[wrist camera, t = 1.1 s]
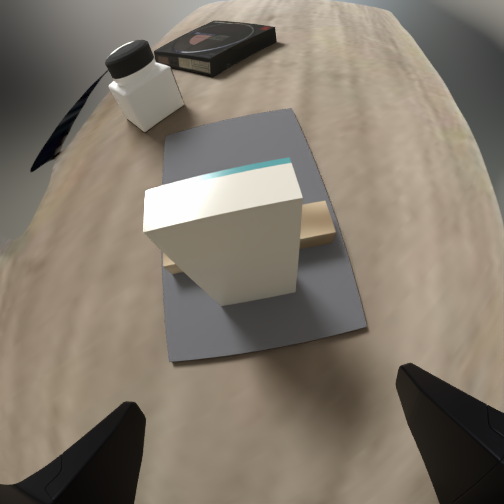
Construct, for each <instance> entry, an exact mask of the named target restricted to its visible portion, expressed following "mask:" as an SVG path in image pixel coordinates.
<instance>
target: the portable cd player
mask: <svg viewBox="0 0 504 504" xmlns="http://www.w3.org/2000/svg"><path fill="white" fill-rule="evenodd" d="M274 43H276V32H275V27H271V26H264V25H257V24H249V23H240V22H228V21H213V22H210V23H208V24H206V25H204V26H201V27H199V28H197V29H195V30H193V31H191V32H189V33H187V34H185V35H183V36H181V37H179V38H177V39H175V40H173V41H171V42H169V43H168V44H166V45H164V46H162V47H160V48H159V49H157V50H155V51H154V55H155V61H156V62H157V63H160V64H163V65H167V66H170V67H171V68H177V69H182V70H186V71H191V72H195V73H200V74H204V75H208V76H212V77H214V76H216V75H217V74H219V73H221V72H222V71H224V70H226V69H227V68H229V67H231V66H232V65H234V64H236V63H238V62H239V61H241V60H243V59H245V58H247V57H248V56H250V55H252V54H254V53H256V52H258V51H260V50H262V49H264V48H266V47H268V46H270V45H272V44H274Z"/></svg>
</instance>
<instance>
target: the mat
mask: <svg viewBox="0 0 504 504" xmlns="http://www.w3.org/2000/svg"><path fill="white" fill-rule="evenodd" d="M289 157H290V160H291V163H292V166H293V169H294V172H295V175H296V178H297V181H298V184H299V187H300V190H301V194H302V197H303V203H302V205H303V204H309V203H314V202H320V201H326V204H327V207H328V210H329V213H330V216H331V219H332V222H333V225H334V228H335V231H336V233H335V236H334V239H333V242H332V243H329V244H324V245H319V246H314V247H309V248H304V249H299V259H298V270H297V281H296V291H295V292H294V293H289V294H284V295H279V296H274V297H269V298H264V299H258V300H253V301H248V302H242V303H237V304H231V305H225V306H220V305H219V304H218V303H217V302H216V301H215V300H214V299H213V298H211V297H210V296H209V295H208V294H207V293H206V292H205V291H204V290H203V289H202V288H200V287H199V286H198V285H197V284H196V283H195V282H194V281H193V280H192V279H191V278H190V277H189V276H188V275H186V274H185V273H184V272H182V273H177V274H171V273H170V272H169V271H168V270H167V269H166V268H164V267H163V251H162V282H163V301H164V315H165V328H166V339H167V349H168V358H169V362H176V361H187V360H197V359H206V358H214V357H222V356H229V355H236V354H243V353H250V352H256V351H262V350H267V349H273V348H278V347H284V346H289V345H294V344H299V343H303V342H308V341H313V340H317V339H321V338H326V337H330V336H334V335H338V334H342V333H346V332H350V331H354V330H357V329H361V328H365V327H367V324H366V320H365V316H364V312H363V308H362V304H361V300H360V296H359V293H358V289H357V285H356V282H355V278H354V274H353V271H352V268H351V264H350V261H349V257H348V254H347V251H346V248H345V245H344V241H343V238H342V235H341V232H340V229H339V226H338V223H337V220H336V217H335V214H334V211H333V209H332V206H331V203H330V200H329V197H328V195H327V192H326V189H325V187H324V184H323V181H322V179H321V176H320V174H319V171H318V168H317V166H316V163H315V161H314V158H313V156H312V154H311V151H310V149H309V146H308V144H307V142H306V139H305V137H304V135H303V132H302V130H301V128H300V126H299V123H298V121H297V119H296V117H295V115H294V112H293V110H292V108H289V109H282V110H276V111H269V112H263V113H258V114H252V115H247V116H242V117H237V118H232V119H228V120H223V121H219V122H215V123H210V124H206V125H202V126H198V127H195V128H191V129H187V130H184V131H180V132H177V133H173V134H170V135H167V136H165V146H164V161H163V179H162V186H163V185H167V184H170V183H174V182H178V181H182V180H185V179H189V178H193V177H197V176H201V175H205V174H209V173H214V172H218V171H222V170H227V169H231V168H236V167H241V166H246V165H251V164H256V163H261V162H266V161H271V160H277V159H283V158H289Z"/></svg>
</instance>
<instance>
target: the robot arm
mask: <svg viewBox="0 0 504 504" xmlns="http://www.w3.org/2000/svg"><path fill="white" fill-rule="evenodd" d="M396 389H397V392H398V395H399V398H400V401H401V404H402V407H403V411H404V414H405V417H406V420H407V423H408V426H409V428H410V430H411V433H412V435H413V437H414V440H415V442H416V444H417V447H418V449H419V451H420V454H421V456H422V459H423V461H424V464H425V466H426V469H427V471H428V474H429V476H430V479H431V481H432V484H433V487H434V489H435V492H436V495H437V498H438V501H439V503H440V504H504V413H503V412H500V411H498V410H496V409H494V408H493V407H491V406H489V405H487V404H485V403H483V402H481V401H479V400H478V399H476V398H474V397H472V396H470V395H468V394H467V393H465V392H463V391H461V390H459V389H457V388H456V387H454V386H452V385H450V384H448V383H447V382H445V381H443V380H441V379H439V378H438V377H436V376H434V375H432V374H430V373H429V372H427V371H425V370H423V369H421V368H420V367H418V366H416V365H414V364H412V363H407V364H404V365H401V366H400V367H399V369H398V374H397V379H396ZM145 426H146V418H145V415H144V414H143V412H142V411H141V409H140V408H139V406H138V405H137V404H136V403H135V402H128V401H126V402H123V403H122V404H121V405H120V406H119V407H118V408H116V409H115V410H114V411H113V412H112V413H110V414H109V415H108V416H107V417H106V418H105V419H103V420H102V421H101V422H100V423H99V424H97V425H96V426H95V427H94V428H93V429H92V430H90V431H89V432H88V433H87V434H86V435H84V436H83V437H82V438H81V439H79V440H78V441H77V442H76V443H75V444H73V445H72V446H71V447H70V448H68V449H67V450H66V451H65V452H64V453H63V454H61V455H60V456H59V457H57V458H56V459H55V460H53V461H52V462H51V463H49V464H48V465H47V466H45V467H44V468H42V469H41V470H39V471H38V472H36V473H34V474H33V475H31V476H29V477H28V478H26V479H24V480H23V481H21V482H19V483H16V484H12V485H3V484H0V504H134V501H135V495H136V489H137V483H138V478H139V472H140V467H141V462H142V456H143V447H144V436H145Z"/></svg>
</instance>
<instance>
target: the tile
mask: <svg viewBox="0 0 504 504" xmlns="http://www.w3.org/2000/svg"><path fill="white" fill-rule="evenodd" d="M302 203H303V197H302V194H301V190H300V187H299V184H298V181H297V178H296V175H295V172H294V169H293V166H292V163H291V160H290V157H289V158H283V159H277V160H271V161H266V162H261V163H256V164H251V165H246V166H241V167H236V168H231V169H227V170H222V171H218V172H214V173H209V174H205V175H201V176H197V177H193V178H189V179H185V180H182V181H178V182H174V183H170V184H167V185H163V186H160V187H156V188H153V189H149V190H146V191H145V206H144V225H143V233H144V234H145V235H146V236H147V237H148V238H149V239H150V240H151V241H152V242H153V243H154V244H155V245H156V246H157V247H158V248H159V249H160V250H161V251H163V252H164V253H165V254H166V255H167V256H168V257H169V258H170V259H171V260H172V261H173V262H174V263H175V264H176V265H177V266H178V267H179V268H180V269H181V270H182V271H183V272H184V273H185V274H186V275H188V276H189V277H190V278H191V279H192V280H193V281H194V282H195V283H196V284H197V285H198V286H199V287H200V288H202V289H203V290H204V291H205V292H206V293H207V294H208V295H209V296H210V297H211V298H213V299H214V300H215V301H216V302H217V303H218V304H219V305H220V306H225V305H231V304H237V303H242V302H248V301H253V300H258V299H264V298H269V297H274V296H279V295H284V294H289V293H294V292H295V291H296V281H297V270H298V259H299V247H300V233H301V219H302Z"/></svg>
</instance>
